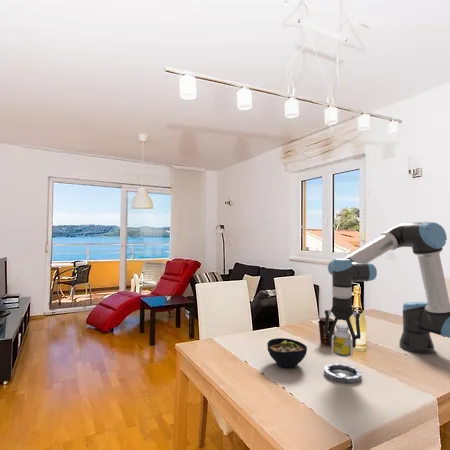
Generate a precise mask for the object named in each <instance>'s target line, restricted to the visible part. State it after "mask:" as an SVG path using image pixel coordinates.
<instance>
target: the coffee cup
mask: <svg viewBox="0 0 450 450" xmlns="http://www.w3.org/2000/svg"><path fill="white" fill-rule="evenodd" d="M325 319H326V317H320V318H319V320H318V321H317V323H318V328H319V341H320V345H321V346H324V347H325V346H326V347H332V344H329V336H328V335H326V334H324V329H325ZM333 322H334V319H333V318H330V317H329V325H328V331H329V332H330V330H331V327H332V325H333ZM335 330H336V327H335V328H334V331H333V334H332V335H334V332H335Z"/></svg>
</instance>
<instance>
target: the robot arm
mask: <svg viewBox="0 0 450 450" xmlns="http://www.w3.org/2000/svg"><path fill="white" fill-rule="evenodd" d="M447 240H448V238H447V233H446V231H445V228H444V227H443V226H442V225H441V224H439V223H438V222H434V221H433V222H429V221H421V222H417V221H416V222H404V223H400V224H397V225H396V226H393V227H392V228H389V229H387V230H386V231H384V232H382V233H381V234H380V236H379V237H378V238H376V239H374V240H373V241H370V242H368V243H367V244H365V245H364V246H362V247H360V248H358V249H356V250H355V251H353V252H352V253H350V254H348V255H346V256H344V257H343V258H335V259H333V260H331V261H329V263H328V265H327V271H328V273H329V274H330V275H331V276H332V277H331V278H332V287H331V288H332V300H331V301H332V303H331V304H332V305H331V308H329V309H327V308H326V309H325V310H324V315H325V318H326V319H325V329H324V334H326V335H328V336H329V344H332V346H331V354H334V335H332V334H333V331H334V332H335V329H336V325H337V323H338V321H341V320H342V321H346V324H347V325H346V326H348V331H349V333H350V335H351V339H350V356H349V357H353V355H354V352H353V349H355V348H356V346H357V345H356V344H357V341H356V340H360V339H361V328H360V327H361V325H360V316H361V313H360V312H356V311H354V310H353V299H352V297H353V283H355V282H366V283H367V282H371V281H372V282H373V281H374V280H376V278H377V276H378V274H377V272H378V271H377V268H376V266H375V265H374V264H372V263H371V262H372V261H373V260H376V259H377V258H379V257H381V256H382V255H384V254H386V253H387V252H389V251H395V250H397V249H398V248H406V247H407V248H411V249H412V253H413V254H414V255H415V256H417V259H418V263H419V264H418V265H419V268H420V273H421V274H420V275H421V278H422V283H423V287H424V291H425V296H426V301H427V302H424V301H423V302H422V301H408V302H404V303H403V305H402V333H401V336H400V339H399V347H400V348H401V349H403V350H406V351H408V352H412V353H416V354H433V353H435V346H434V342H433V339H432V337H431V333H433V334H435V335H439V336H442V338H448V339H450V298H449V297H450V296H449V294H448V293H449V292H448V288H447V284H446V278H445V274H444V270H443V265H442V259H441V255H440V253H441V252H442V251H443V247H444V246H445V245H446V243H447ZM331 314H332V315H333V316H334V319H333V320H334V322H333V325H332V327H331V330H330V332H329V331H328V325H329V318H330V316H331ZM352 315H353V317H354V318H355V329H356V334H355V330H354V328H353V324H352V322H351V319H350V318H351V317H352ZM334 328H335V329H334ZM334 355H335V354H334Z"/></svg>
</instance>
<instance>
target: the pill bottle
mask: <svg viewBox="0 0 450 450" xmlns="http://www.w3.org/2000/svg"><path fill="white" fill-rule="evenodd" d="M351 338H352V336H351V333H350V331H349V327H348V325H345V324H336V326H335V330H334V355H335V356H337V357H340V358H348V357H351V356H350V339H351Z"/></svg>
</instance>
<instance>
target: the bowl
mask: <svg viewBox="0 0 450 450" xmlns="http://www.w3.org/2000/svg"><path fill="white" fill-rule="evenodd" d="M266 347H267V351H268V353H269V355H270V357H271V359H272V360H273V361H275V364H277V366H278V367H279V368H282V369H285V370H286V369H287V370H290V369H295V368H297V367H298V365H299V364H300V363H301V362H302V361H303V360H304V358H305V357H306V355H307V352H308V348H307V347H308V346H307V345H305V344H304V343H303V342H300V341H298V340H295V339H291V338H285V337H284V338H283V337H278V338H273V339H270V340H268V342H267V344H266Z"/></svg>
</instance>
